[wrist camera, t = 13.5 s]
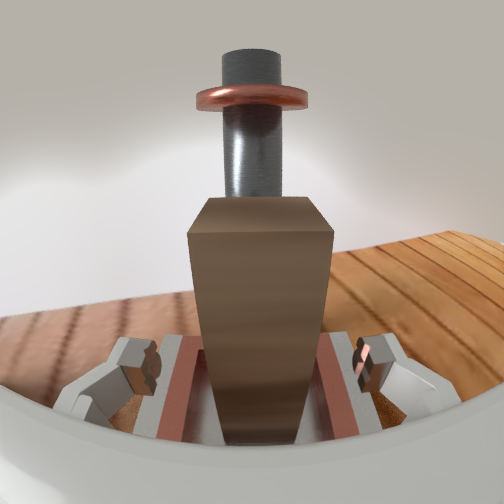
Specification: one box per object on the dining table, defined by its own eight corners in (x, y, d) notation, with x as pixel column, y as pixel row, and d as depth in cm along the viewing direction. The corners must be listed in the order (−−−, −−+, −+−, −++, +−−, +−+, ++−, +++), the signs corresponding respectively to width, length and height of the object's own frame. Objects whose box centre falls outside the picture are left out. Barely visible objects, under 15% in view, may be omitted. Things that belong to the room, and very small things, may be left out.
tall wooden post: (295, 441, 14) (334, 231, 8) (224, 442, 14) (186, 232, 8) (289, 389, 18) (307, 196, 12) (228, 391, 18) (209, 197, 12)
